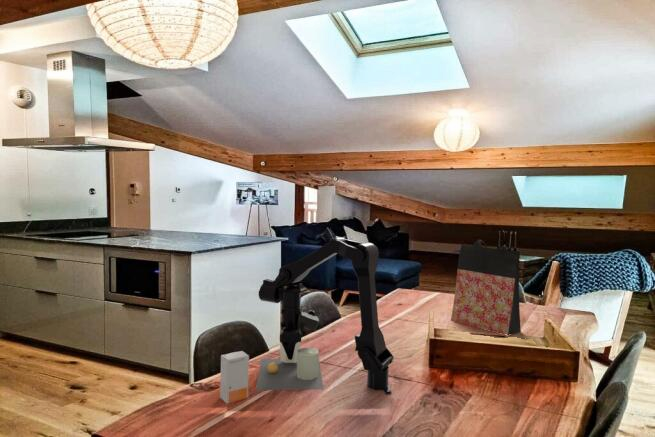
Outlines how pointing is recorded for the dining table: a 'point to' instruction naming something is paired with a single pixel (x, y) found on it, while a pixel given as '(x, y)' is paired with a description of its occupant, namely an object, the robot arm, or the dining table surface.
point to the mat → (285, 377)
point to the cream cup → (284, 357)
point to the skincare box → (234, 376)
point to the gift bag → (487, 288)
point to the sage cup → (307, 363)
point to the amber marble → (272, 367)
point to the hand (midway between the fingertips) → (290, 355)
